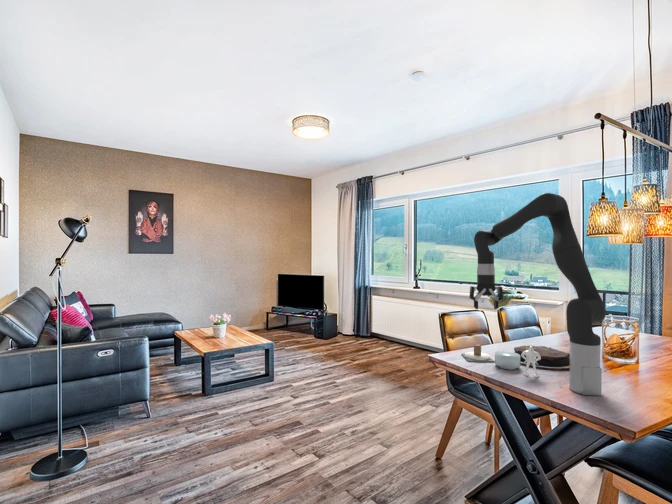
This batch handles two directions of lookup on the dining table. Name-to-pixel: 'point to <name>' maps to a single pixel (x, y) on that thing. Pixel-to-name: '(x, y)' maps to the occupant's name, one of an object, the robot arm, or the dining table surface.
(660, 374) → the dining table surface
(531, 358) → the figurine
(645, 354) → the dining table surface
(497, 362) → the pale green rounded block
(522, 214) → the robot arm
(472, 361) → the mat
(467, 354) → the cover
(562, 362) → the chocolate cake
